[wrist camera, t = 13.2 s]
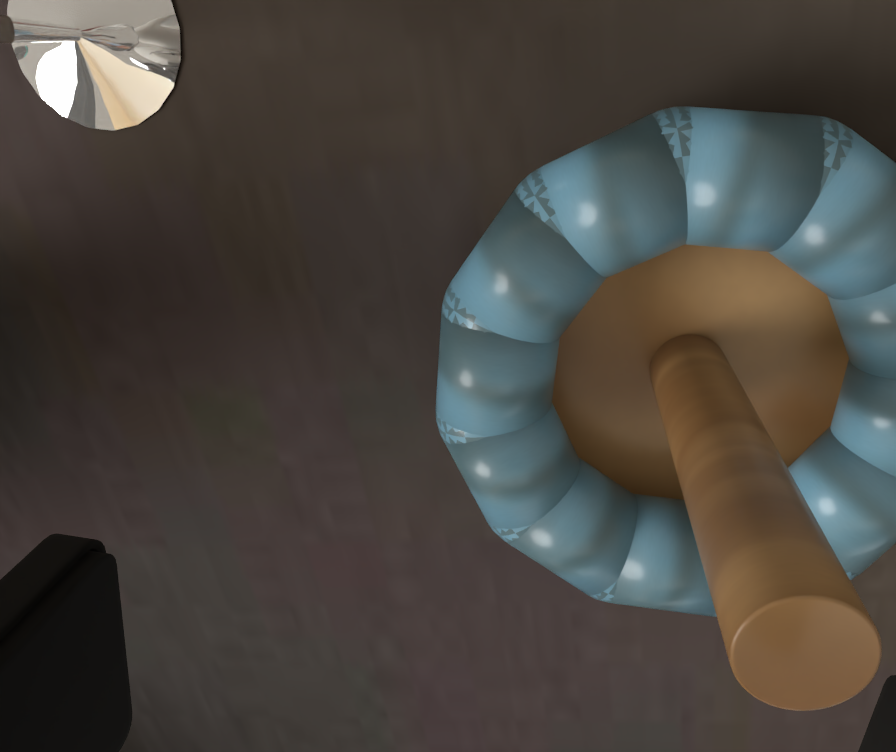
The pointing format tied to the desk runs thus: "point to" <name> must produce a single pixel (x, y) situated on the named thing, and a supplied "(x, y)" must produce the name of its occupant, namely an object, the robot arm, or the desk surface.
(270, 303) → the desk surface
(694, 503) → the peg stand
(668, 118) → the ring
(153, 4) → the wineglass
